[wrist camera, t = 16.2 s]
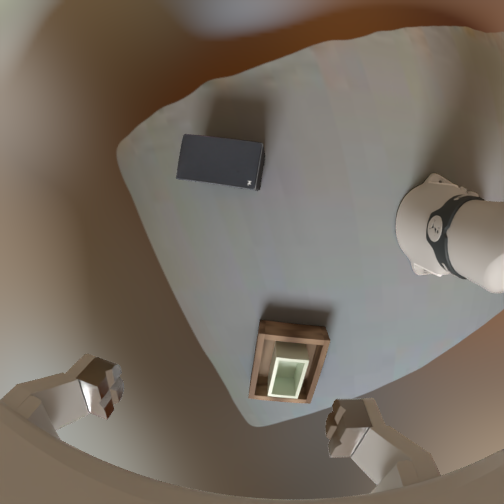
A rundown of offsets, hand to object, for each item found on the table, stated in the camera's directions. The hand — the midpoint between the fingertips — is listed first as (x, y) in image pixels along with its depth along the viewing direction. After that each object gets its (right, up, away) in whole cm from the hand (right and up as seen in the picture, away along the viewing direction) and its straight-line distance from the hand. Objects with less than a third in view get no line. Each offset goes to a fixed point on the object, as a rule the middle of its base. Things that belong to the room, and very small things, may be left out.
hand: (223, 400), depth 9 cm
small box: (-2, +19, +34) cm, 39 cm away
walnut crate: (+8, -15, +41) cm, 44 cm away
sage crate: (+7, -15, +40) cm, 43 cm away
